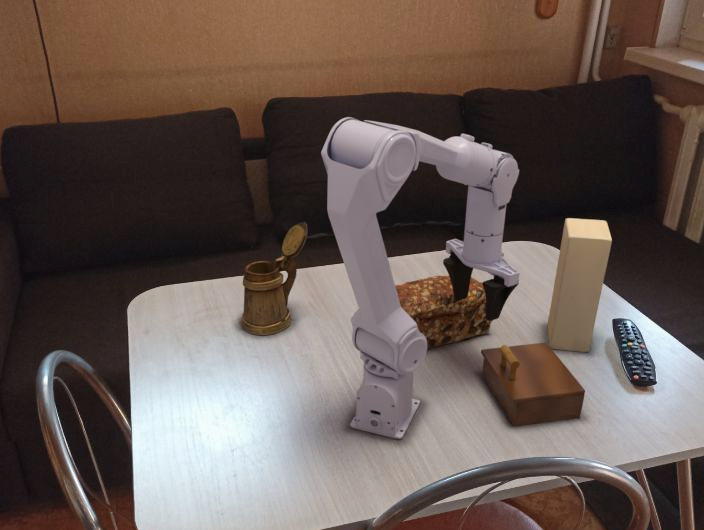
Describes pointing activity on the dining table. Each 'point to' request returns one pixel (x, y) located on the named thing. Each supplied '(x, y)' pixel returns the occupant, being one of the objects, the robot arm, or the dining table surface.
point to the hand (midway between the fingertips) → (476, 308)
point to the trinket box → (533, 404)
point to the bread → (444, 309)
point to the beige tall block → (578, 283)
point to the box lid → (531, 372)
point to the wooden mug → (271, 287)
